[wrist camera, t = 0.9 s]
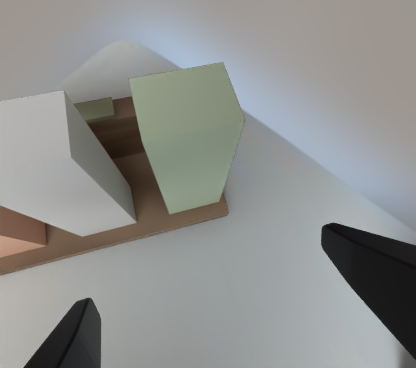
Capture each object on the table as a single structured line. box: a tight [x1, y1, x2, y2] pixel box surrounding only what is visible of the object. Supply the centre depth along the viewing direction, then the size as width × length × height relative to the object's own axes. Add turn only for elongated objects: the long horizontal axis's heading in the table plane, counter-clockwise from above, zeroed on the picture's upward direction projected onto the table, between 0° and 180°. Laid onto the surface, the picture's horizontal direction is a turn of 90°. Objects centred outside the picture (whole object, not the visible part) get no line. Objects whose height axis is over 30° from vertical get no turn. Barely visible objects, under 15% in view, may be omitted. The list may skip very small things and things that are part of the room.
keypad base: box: [0, 97, 229, 275], centre depth 18 cm, size 8×18×6 cm, turn 105°
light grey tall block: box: [0, 90, 137, 237], centre depth 14 cm, size 3×4×11 cm
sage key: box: [129, 62, 245, 214], centre depth 15 cm, size 3×4×11 cm
